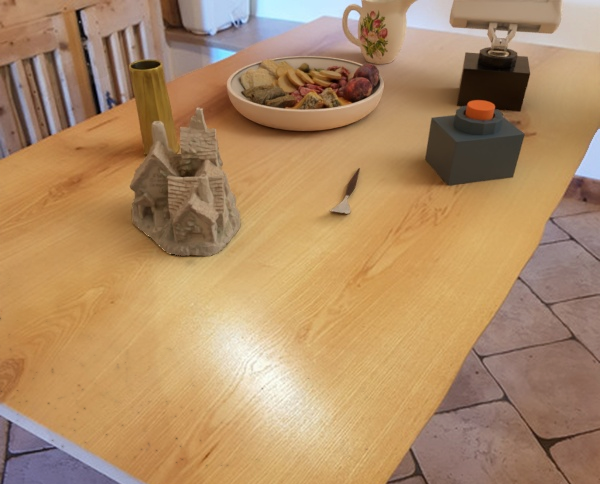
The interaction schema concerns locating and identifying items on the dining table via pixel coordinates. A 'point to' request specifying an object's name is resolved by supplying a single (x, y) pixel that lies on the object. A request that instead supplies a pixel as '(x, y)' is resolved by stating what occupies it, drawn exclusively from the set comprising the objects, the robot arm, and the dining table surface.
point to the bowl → (305, 92)
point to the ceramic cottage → (185, 192)
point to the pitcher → (379, 28)
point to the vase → (152, 101)
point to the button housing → (473, 148)
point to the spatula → (344, 206)
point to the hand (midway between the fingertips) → (498, 49)
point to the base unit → (494, 79)
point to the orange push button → (480, 110)
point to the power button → (498, 53)
